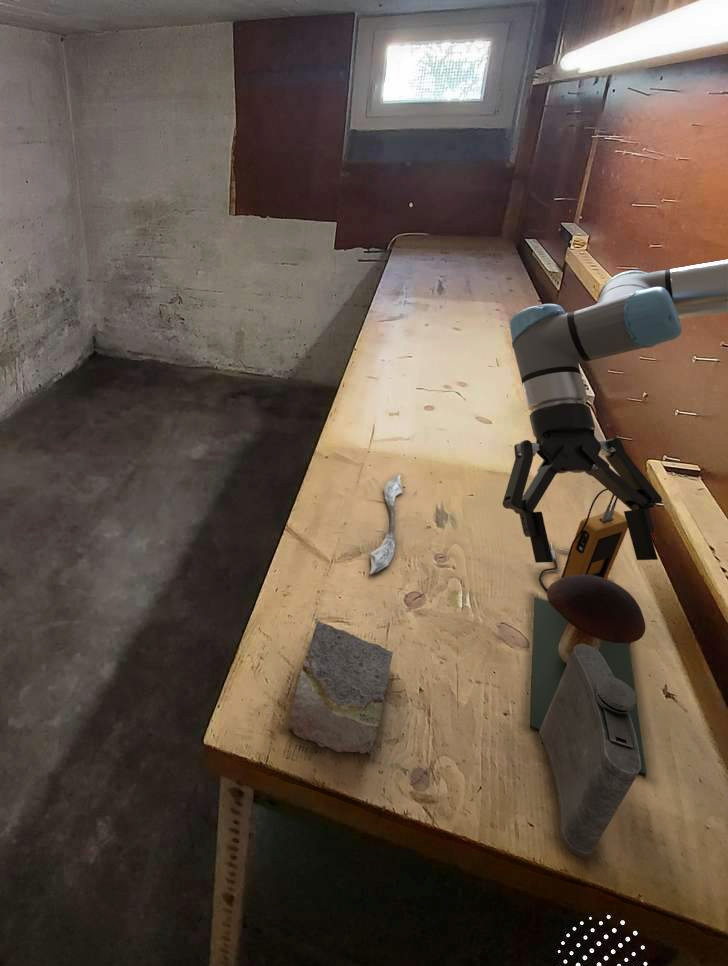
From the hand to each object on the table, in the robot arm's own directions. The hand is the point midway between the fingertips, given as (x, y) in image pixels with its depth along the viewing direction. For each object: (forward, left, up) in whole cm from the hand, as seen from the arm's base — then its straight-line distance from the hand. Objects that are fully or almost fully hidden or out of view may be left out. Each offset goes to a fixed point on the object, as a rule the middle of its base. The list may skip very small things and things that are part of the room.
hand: (595, 561), depth 75 cm
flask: (0, +21, -17) cm, 27 cm away
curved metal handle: (+29, -17, -17) cm, 37 cm away
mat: (-2, +3, -17) cm, 17 cm away
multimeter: (0, -19, -17) cm, 25 cm away
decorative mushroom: (-1, +2, -17) cm, 17 cm away
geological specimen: (+26, +23, -17) cm, 39 cm away
